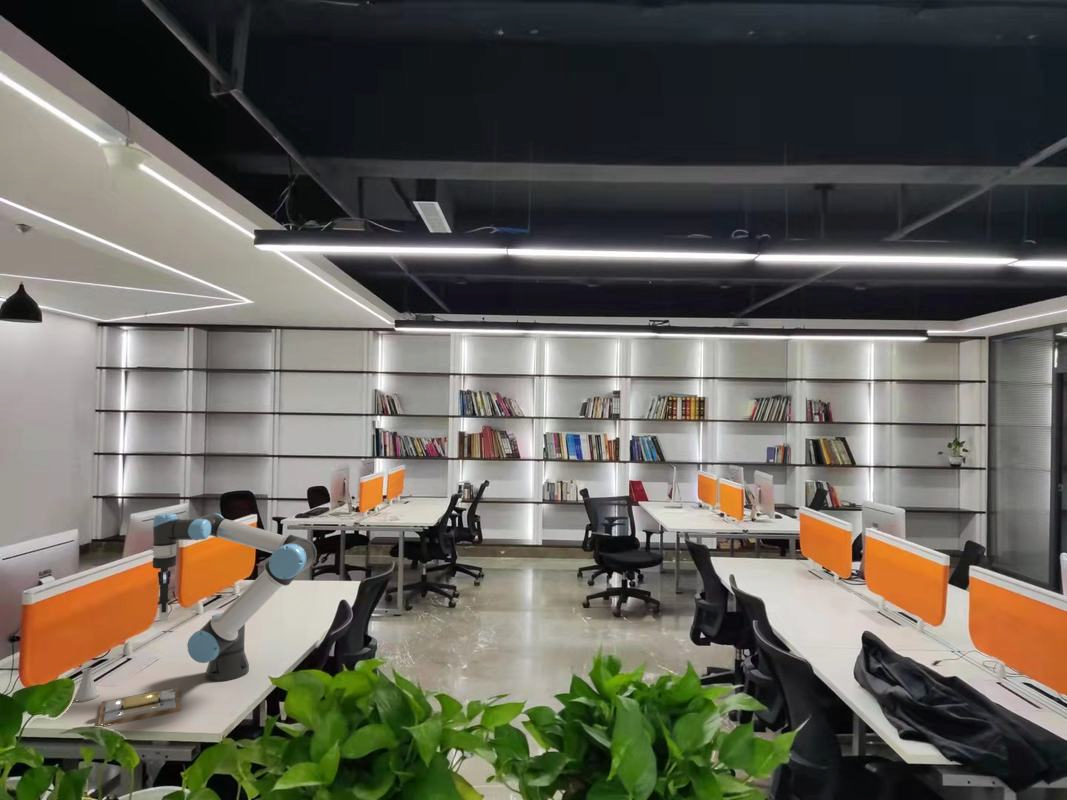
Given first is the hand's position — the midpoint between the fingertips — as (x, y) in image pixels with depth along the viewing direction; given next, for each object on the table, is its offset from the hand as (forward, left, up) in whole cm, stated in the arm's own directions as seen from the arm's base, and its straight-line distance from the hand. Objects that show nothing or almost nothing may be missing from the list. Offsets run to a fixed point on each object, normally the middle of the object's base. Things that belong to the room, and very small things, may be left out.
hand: (163, 620), depth 235 cm
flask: (+23, -4, -25) cm, 34 cm away
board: (+7, +16, -24) cm, 30 cm away
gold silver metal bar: (+7, +17, -23) cm, 29 cm away
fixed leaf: (+7, +21, -23) cm, 32 cm away
